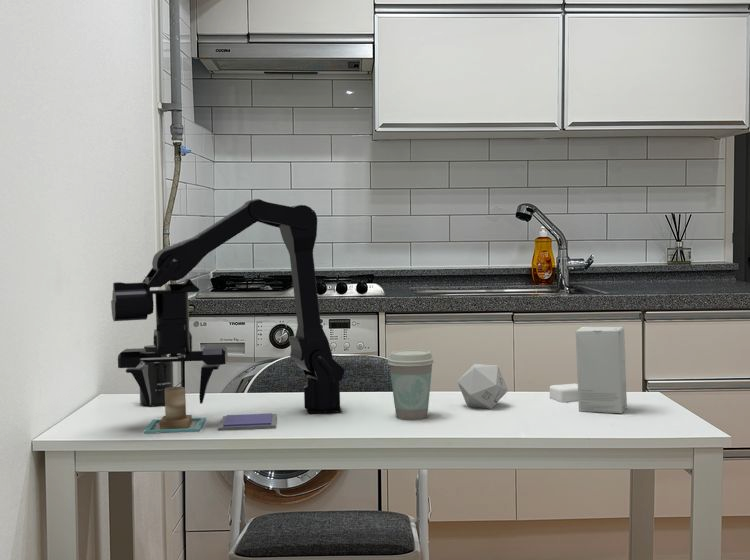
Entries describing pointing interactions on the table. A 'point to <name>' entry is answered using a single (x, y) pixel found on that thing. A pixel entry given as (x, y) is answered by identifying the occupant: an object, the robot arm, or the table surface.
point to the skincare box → (601, 369)
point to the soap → (564, 392)
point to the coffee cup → (411, 382)
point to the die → (482, 386)
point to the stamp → (175, 409)
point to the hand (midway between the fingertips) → (175, 404)
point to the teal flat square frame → (198, 428)
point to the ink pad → (248, 421)
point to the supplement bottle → (158, 379)
